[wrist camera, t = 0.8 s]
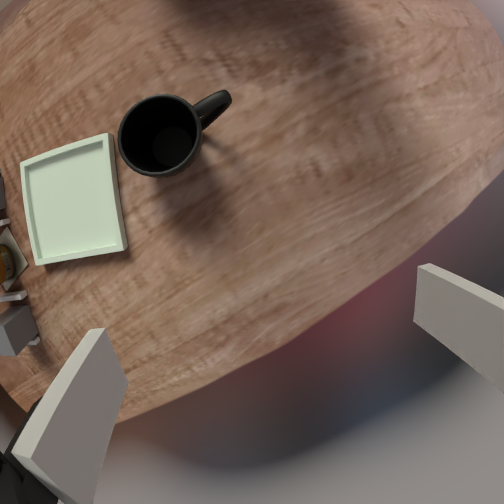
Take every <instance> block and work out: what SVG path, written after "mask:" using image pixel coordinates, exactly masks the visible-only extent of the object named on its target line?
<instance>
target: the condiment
mask: <svg viewBox="0 0 504 504" xmlns="http://www.w3.org/2000/svg"><path fill="white" fill-rule="evenodd" d="M6 244H7V245H6ZM27 265H28V263H27V261H26V259H25V257H24V255H23V254H22V252H21V250H20V248H19V247H18V245H17V243H16V241H15V240H14V238H13V236H12V234H11V232H10V231H9V229H8V227H6V228H5V230H4V231H3V233H2V234H1V235H0V285H1V284H2V285H3V286H4V288H5V290H6V291H7V290H8V289H9V287H10V286H11V285H12V284H13V282H14V281H15V280H16V278H17V277H18V276H19V275H20V273H21V272H22V271H23V270H24V268H25V267H26V266H27Z"/></svg>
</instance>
